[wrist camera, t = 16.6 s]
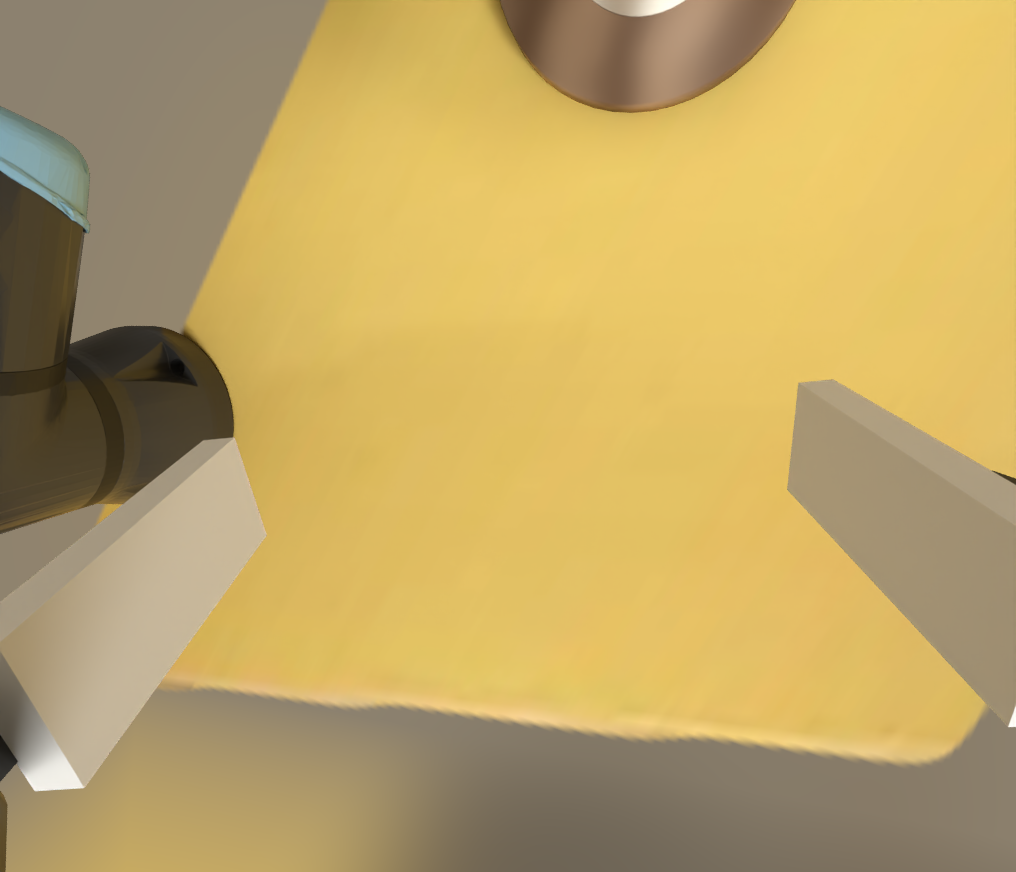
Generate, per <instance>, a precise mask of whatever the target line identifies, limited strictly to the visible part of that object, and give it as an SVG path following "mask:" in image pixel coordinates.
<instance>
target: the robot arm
mask: <svg viewBox="0 0 1016 872" xmlns="http://www.w3.org/2000/svg"><path fill="white" fill-rule="evenodd" d="M89 181H90V174H89V169H88V166H87V163H86V161H85V159H84V158H83V156H82V155H81V153H80V152H79V151H78V149H77V148H76V147H75V146H74V145H72V144H71V143H70V142H69V141H67V140H66V139H65V138H63V137H61V136H60V135H58V134H56V133H54V132H52V131H50V130H48V129H47V128H45V127H43V126H41V125H39V124H37V123H34V122H32V121H31V120H28V119H26V118H24V117H22V116H20V115H18V114H16V113H14V112H12V111H10V110H7V109H5V108H3V107H1V106H0V534H2V533H6V532H9V531H12V530H15V529H18V528H21V527H24V526H27V525H31V524H34V523H37V522H40V521H43V520H46V519H49V518H52V517H55V516H58V515H62V514H65V513H68V512H71V511H74V510H77V509H80V508H84V507H87V506H90V505H94V504H123V505H121V506H120V507H119V508H118V509H116V510H115V511H114V512H113V513H111V514H110V515H109V516H108V517H106V518H105V519H104V520H103V521H101V522H100V523H99V524H97V525H96V526H95V527H94V528H93V529H91V530H90V531H89V532H87V533H86V534H85V535H84V536H82V537H81V538H80V539H79V540H77V541H76V542H75V543H74V544H72V545H71V546H70V547H69V548H67V549H66V550H65V551H64V552H62V553H61V554H60V555H59V556H57V557H56V558H55V559H53V560H52V561H51V562H50V563H48V564H47V565H46V566H45V567H43V568H42V569H41V570H40V571H38V572H37V573H36V574H35V575H33V576H32V577H31V578H30V579H28V580H27V581H26V582H25V583H23V584H22V585H21V586H20V587H18V588H17V589H16V590H14V591H13V592H12V593H11V594H10V595H8V596H7V597H6V598H5V599H3V600H2V601H1V602H0V781H1V780H2V779H3V778H4V777H5V776H6V774H7V773H8V772H9V771H10V770H11V769H12V768H13V766H14V765H15V764H17V765H18V767H19V768H20V770H21V771H22V773H23V774H24V776H25V777H26V779H27V780H28V781H29V783H30V785H31V786H32V788H33V789H34V790H35V791H44V790H59V789H74V788H85V786H86V785H87V783H88V782H89V781H90V779H91V778H92V776H93V775H94V774H95V772H96V771H97V770H98V768H99V767H100V765H101V764H102V763H103V761H104V760H105V758H106V757H107V756H108V754H109V753H110V752H111V750H112V749H113V747H114V746H115V745H116V743H117V742H118V741H119V739H120V738H121V736H122V735H123V734H124V732H125V731H126V729H127V728H128V727H129V725H130V724H131V722H132V721H133V719H134V718H135V717H136V716H137V714H138V713H139V711H140V710H141V709H142V707H143V706H144V704H145V703H146V702H147V700H148V699H149V698H150V696H151V695H152V693H153V692H154V691H155V689H156V688H157V686H158V685H159V684H160V682H161V681H162V680H163V678H164V677H165V675H166V674H167V673H168V671H169V670H170V668H171V667H172V666H173V664H174V663H175V662H176V660H177V659H178V657H179V656H180V655H181V653H182V652H183V650H184V649H185V648H186V646H187V645H188V644H189V642H190V641H191V639H192V638H193V637H194V635H195V634H196V632H197V631H198V630H199V628H200V627H201V625H202V624H203V623H204V621H205V620H206V619H207V617H208V616H209V614H210V613H211V612H212V610H213V609H214V607H215V606H216V605H217V603H218V602H219V601H220V599H221V598H222V596H223V595H224V594H225V592H226V591H227V589H228V588H229V587H230V585H231V584H232V583H233V581H234V580H235V578H236V577H237V576H238V574H239V573H240V571H241V570H242V569H243V567H244V566H245V565H246V563H247V562H248V560H249V559H250V558H251V556H252V555H253V553H254V552H255V551H256V549H257V548H258V546H259V545H260V544H261V542H262V541H263V540H264V538H265V537H266V532H265V529H264V526H263V523H262V520H261V516H260V513H259V510H258V507H257V504H256V501H255V498H254V495H253V492H252V489H251V486H250V483H249V480H248V477H247V474H246V471H245V468H244V465H243V462H242V459H241V456H240V453H239V450H238V447H237V444H236V440H235V437H233V414H232V408H231V403H230V399H229V396H228V393H227V390H226V387H225V385H224V382H223V380H222V378H221V376H220V374H219V372H218V371H217V369H216V367H215V366H214V364H213V363H212V362H211V360H210V359H209V358H208V357H207V355H206V354H205V353H204V352H203V351H202V350H201V349H200V348H199V347H198V346H197V345H196V344H194V343H193V342H192V341H190V340H189V339H188V338H186V337H184V336H183V335H181V334H179V333H177V332H175V331H172V330H169V329H166V328H162V327H156V326H124V327H118V328H113V329H110V330H107V331H104V332H102V333H99V334H96V335H93V336H91V337H88V338H85V339H82V340H80V341H77V342H74V343H72V344H70V337H71V331H72V323H73V316H74V308H75V301H76V293H77V286H78V278H79V271H80V263H81V256H82V248H83V241H84V233H89V232H90V224H89V222H88V220H87V208H88V195H89ZM787 490H788V491H789V492H790V493H791V494H792V495H793V496H794V497H795V499H796V500H797V501H798V502H799V503H800V504H801V505H802V506H803V507H804V508H805V509H806V510H807V511H808V513H809V514H810V515H811V516H812V517H813V518H814V519H815V520H816V521H817V522H818V523H819V524H820V525H821V526H822V528H823V529H824V530H825V531H826V532H827V533H828V534H829V535H830V536H831V537H832V538H833V539H834V540H835V542H836V543H837V544H838V545H839V546H840V547H841V548H842V549H843V550H844V551H845V552H846V553H847V554H848V556H849V557H850V558H851V559H852V560H853V561H854V562H855V563H856V564H857V565H858V566H859V567H860V568H861V569H862V571H863V572H864V573H865V574H866V575H867V576H868V577H869V578H870V579H871V580H872V581H873V582H874V583H875V585H876V586H877V587H878V588H879V589H880V590H881V591H882V592H883V593H884V594H885V595H886V596H887V597H888V599H889V600H890V601H891V602H892V603H893V604H894V605H895V606H896V607H897V608H898V609H899V610H900V611H901V612H902V614H903V615H904V616H905V617H906V618H907V619H908V620H909V621H910V622H911V623H912V624H913V625H914V626H915V628H916V629H917V630H918V631H919V632H920V633H921V634H922V635H923V636H924V637H925V638H926V639H927V640H928V642H929V643H930V644H931V645H932V646H933V647H934V648H935V649H936V650H937V651H938V652H939V653H940V654H941V655H942V657H943V658H944V659H945V660H946V661H947V662H948V663H949V664H950V665H951V666H952V667H953V668H954V669H955V671H956V672H957V673H958V674H959V675H960V676H961V677H962V678H963V679H964V680H965V681H966V682H967V683H968V685H969V686H970V687H971V688H972V689H973V690H974V691H975V692H976V693H977V694H978V695H979V696H980V697H981V698H982V700H983V701H984V702H985V703H986V704H987V705H988V706H989V707H990V708H991V709H992V710H993V711H994V712H995V713H996V715H997V716H998V717H999V718H1000V719H1001V720H1002V721H1003V722H1004V723H1005V724H1006V725H1007V726H1008V727H1016V479H1015V478H1012V477H1009V476H1007V475H1004V474H1001V473H998V472H995V471H991V470H989V469H987V468H986V467H984V466H982V465H980V464H979V463H977V462H975V461H974V460H972V459H970V458H968V457H967V456H965V455H963V454H961V453H960V452H958V451H956V450H954V449H953V448H951V447H949V446H948V445H946V444H944V443H942V442H941V441H939V440H937V439H935V438H934V437H932V436H930V435H928V434H927V433H925V432H923V431H922V430H920V429H918V428H916V427H915V426H913V425H911V424H909V423H908V422H906V421H904V420H902V419H901V418H899V417H897V416H896V415H894V414H892V413H890V412H889V411H887V410H885V409H883V408H882V407H880V406H878V405H877V404H875V403H873V402H871V401H870V400H868V399H866V398H864V397H863V396H861V395H859V394H857V393H856V392H854V391H852V390H851V389H849V388H847V387H845V386H844V385H842V384H840V383H838V382H837V381H835V380H823V381H813V382H802V383H798V393H797V402H796V411H795V421H794V430H793V440H792V449H791V459H790V468H789V477H788V487H787ZM6 833H7V803H6V800H5V798H4V795H3V794H2V793H1V791H0V872H5V868H6Z"/></svg>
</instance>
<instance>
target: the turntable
mask: <svg viewBox="0 0 1016 872" xmlns="http://www.w3.org/2000/svg"><path fill="white" fill-rule="evenodd" d="M795 1H796V0H500V2H501V6H502V9H503V11H504V14H505V17H506V19H507V22H508V25H509V27H510V29H511V31H512V33H513V35H514V37H515V39H516V41H517V43H518V45H519V47H520V49H521V50H522V52H523V54H524V56H525V57H526V58H527V60H528V61H529V62H530V64H531V65H532V67H533V68H534V69H535V70H536V71H537V72H538V73H539V74H540V75H541V76H542V77H543V78H544V80H545V81H546V82H548V83H549V84H550V85H551V86H553V87H554V88H555V89H557V90H558V91H559V92H561V93H562V94H564V95H566V96H568V97H570V98H571V99H573V100H575V101H577V102H579V103H582V104H585V105H588V106H590V107H593V108H597V109H602V110H607V111H612V112H629V113H634V112H645V111H654V110H658V109H663V108H667V107H671V106H674V105H677V104H680V103H683V102H685V101H688V100H691V99H693V98H695V97H697V96H699V95H701V94H703V93H705V92H707V91H709V90H711V89H713V88H714V87H716V86H717V85H719V84H720V83H722V82H723V81H725V80H726V79H728V78H729V77H731V76H732V75H733V74H734V73H736V72H737V71H738V70H739V69H740V68H741V67H743V66H744V65H745V64H746V63H747V62H749V61H750V60H751V59H752V58H753V57H754V56H755V55H756V54H757V52H758V51H759V50H760V49H761V48H762V47H763V46H764V45H765V44H766V43H767V42H768V41H769V39H770V38H771V37H772V35H773V34H774V33H775V31H776V30H777V29H778V27H779V26H780V25H781V23H782V22H783V21H784V19H785V17H786V16H787V14H788V12H789V11H790V9H791V7H792V6H793V4H794V2H795Z"/></svg>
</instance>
